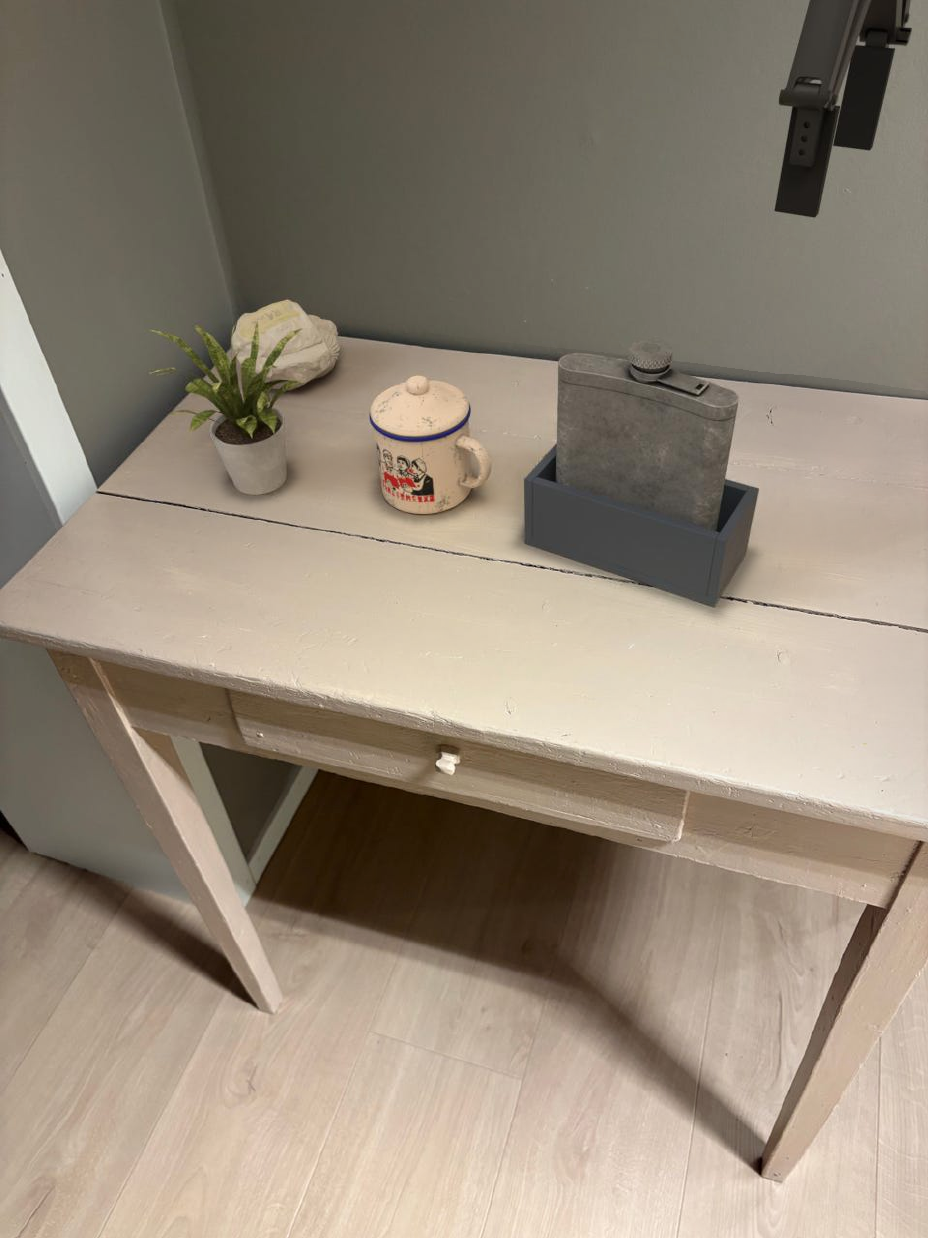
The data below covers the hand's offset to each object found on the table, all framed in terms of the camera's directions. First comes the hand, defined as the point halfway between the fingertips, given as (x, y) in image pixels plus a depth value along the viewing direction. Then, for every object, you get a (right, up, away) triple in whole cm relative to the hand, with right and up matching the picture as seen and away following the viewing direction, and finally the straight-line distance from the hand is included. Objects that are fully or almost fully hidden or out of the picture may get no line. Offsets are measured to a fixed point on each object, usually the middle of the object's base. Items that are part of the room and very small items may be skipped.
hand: (825, 178), depth 67 cm
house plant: (-47, -18, +27) cm, 57 cm away
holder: (-11, -25, +16) cm, 32 cm away
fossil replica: (-44, -4, +41) cm, 60 cm away
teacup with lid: (-28, -19, +24) cm, 41 cm away
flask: (-11, -24, +16) cm, 31 cm away
